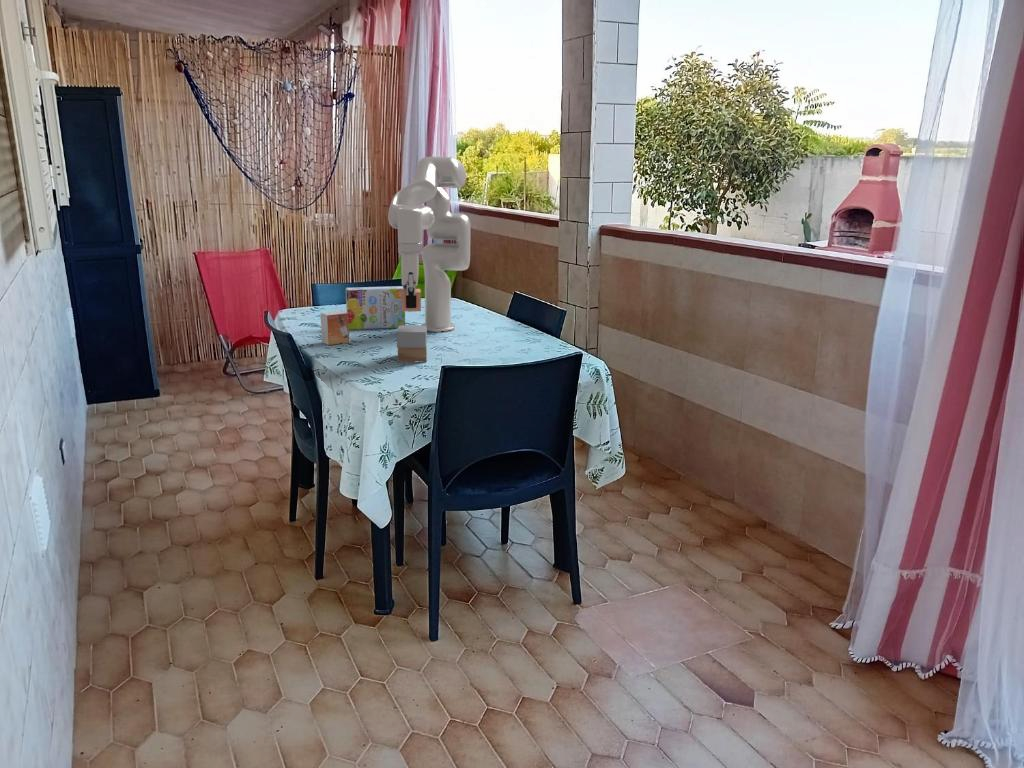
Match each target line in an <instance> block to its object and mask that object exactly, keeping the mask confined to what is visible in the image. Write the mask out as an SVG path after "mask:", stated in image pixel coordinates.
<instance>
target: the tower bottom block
mask: <svg viewBox="0 0 1024 768" xmlns="http://www.w3.org/2000/svg"><path fill="white" fill-rule="evenodd" d="M427 351H428V350H427V346H426V348H402V347H397V362H398V363H416V362H415V361H419V362H418V363H421V362H420V361H427V362H428V359H427V357H428V356H427V355H428V353H427Z"/></svg>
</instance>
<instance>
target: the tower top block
mask: <svg viewBox="0 0 1024 768" xmlns="http://www.w3.org/2000/svg"><path fill="white" fill-rule="evenodd" d="M427 333H428V331H427V326H421V325H405V326H398V328H397V330H396V348H398V347H402V348H426V347H427V341H428V335H427Z"/></svg>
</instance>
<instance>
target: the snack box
mask: <svg viewBox="0 0 1024 768" xmlns="http://www.w3.org/2000/svg"><path fill="white" fill-rule="evenodd" d="M401 289H405V287H404V286H402V285H401V286H400V285H399V286H397V285H396V286H395V285H394V286H368V287H367V286H365V287H364V286H363V287H362V286H361V287H359V286H357V287H345V304H346V305H345V307H346V312H347V313H348V320H349V330H370V329H372V330H373V329H398V326H406V311H402V305H401Z"/></svg>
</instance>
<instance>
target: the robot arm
mask: <svg viewBox="0 0 1024 768" xmlns="http://www.w3.org/2000/svg"><path fill="white" fill-rule="evenodd" d="M466 181H467V170H466V168H465V166H464V164H463V163H462V162H461V161H460V160H458V159H457V158H455V157H451V156H425V157H423V158H421V159H419V161H418V163H417V165H416V169H415V171H414V174H413V179H412V182H411V183H409V184H407V185H406V186H405V187H402V188H401V189H400V190H398V191H397V192H396V193H395V194H394V195H393V197H392V199H391V202H390V205H389V208H388V214H387V219H388V223H389V226H390V227H391V228H393V229H397V245H398V246H397V252H398V254H400V255H401V260H400V261H401V263H400V264H401V265H400V266H401V267H400V268H401V270H400V272H401V286H403V287H405V285H406V289H407V295H406V308H416V292H415V289H416V287H417V286H418V283H419V267H420V263H419V261H420V256H419V255H421V259H422V266H423V271H424V273H423V274H424V322H423V323H422V324H421V325H420V326H427V332H432V333H433V332H434V333H436V332H437V333H442V332H441V331H444V332H450V331H453V330H455V329H456V325H455V324H453V323H452V320H451V319H452V318H451V315H452V311H451V310H452V309H451V308H452V307H451V305H452V301H451V300H452V296H451V295H452V294H451V293H452V291H451V288H452V287H451V286H452V285H451V284H452V283H451V280H450V277H449V276H448V275H447V273H446V272H445V271H460V272H461V271H466V270H468V269H469V267H470V263H471V234H472V233H471V231H472V230H471V220H470V218H469V217H468V215H466V214H464V213H453V212H451V198H450V195H449V194H448V193H447V191H446V190H445V189H462V187H464V186H465V184H466ZM424 203H426V205H422V204H424ZM425 230H426V233H427V236H428V238H430V239H432V240H443V241H444V240H445V241H446V240H447V241H456V242H457V243H446V242H445V243H442V242H441V243H439V242H435V243H428V244H426V245H425V246H424V245H423V231H425ZM408 294H409V295H408ZM454 328H455V329H454ZM449 330H450V331H449Z"/></svg>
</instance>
